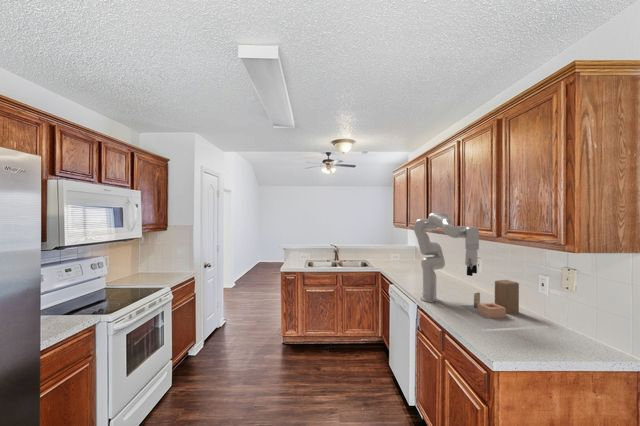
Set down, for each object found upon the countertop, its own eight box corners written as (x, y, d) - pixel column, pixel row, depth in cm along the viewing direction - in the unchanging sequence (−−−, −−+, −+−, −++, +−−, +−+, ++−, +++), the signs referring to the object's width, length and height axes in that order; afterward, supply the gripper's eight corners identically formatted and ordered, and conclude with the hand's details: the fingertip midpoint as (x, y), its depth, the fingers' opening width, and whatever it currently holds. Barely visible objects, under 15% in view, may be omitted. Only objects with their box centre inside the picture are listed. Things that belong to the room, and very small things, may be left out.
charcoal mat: (459, 306, 209) (459, 305, 209) (482, 305, 211) (482, 304, 211) (485, 320, 183) (485, 318, 183) (511, 318, 185) (511, 317, 185)
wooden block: (505, 309, 204) (505, 279, 204) (519, 314, 194) (519, 282, 194) (493, 310, 201) (494, 280, 201) (507, 315, 191) (507, 283, 191)
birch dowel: (472, 306, 205) (472, 292, 205) (477, 306, 206) (477, 291, 206) (476, 308, 202) (476, 293, 202) (481, 308, 202) (481, 293, 202)
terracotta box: (477, 312, 195) (477, 303, 195) (493, 311, 196) (493, 302, 196) (489, 318, 184) (489, 308, 184) (505, 317, 185) (506, 308, 185)
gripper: (469, 245, 199) (469, 271, 199) (461, 247, 186) (461, 275, 186) (482, 246, 194) (482, 273, 194) (474, 248, 181) (474, 277, 181)
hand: (471, 274), depth 190 cm, fingers open, 9 cm apart
